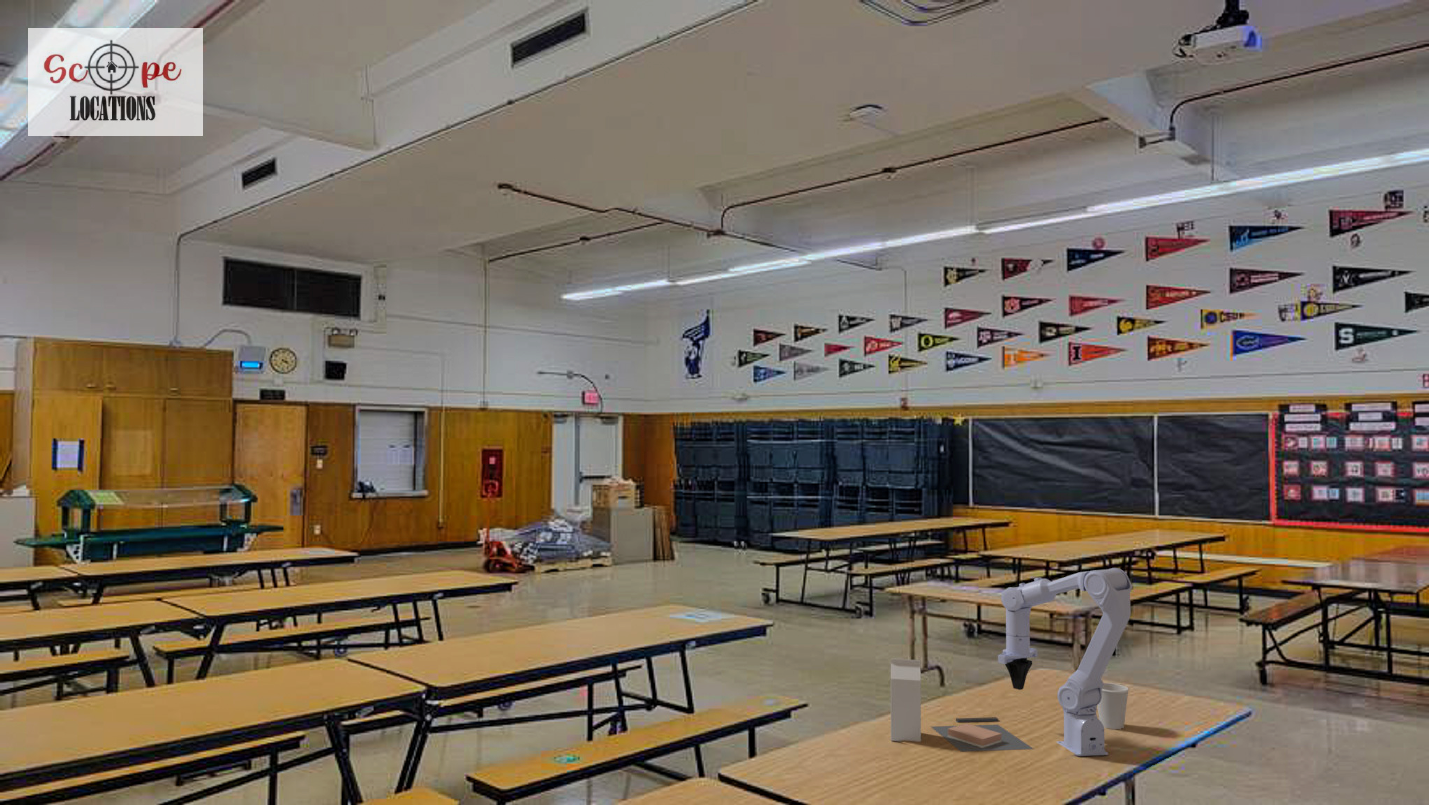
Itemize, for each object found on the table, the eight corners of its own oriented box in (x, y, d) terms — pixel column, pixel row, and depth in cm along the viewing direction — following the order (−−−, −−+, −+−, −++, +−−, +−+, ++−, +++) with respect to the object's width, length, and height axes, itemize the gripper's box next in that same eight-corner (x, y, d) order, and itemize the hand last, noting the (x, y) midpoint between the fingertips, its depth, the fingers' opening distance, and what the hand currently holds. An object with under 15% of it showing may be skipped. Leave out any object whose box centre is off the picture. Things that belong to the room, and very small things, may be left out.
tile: (966, 723, 225) (947, 728, 220) (1001, 733, 217) (982, 739, 213) (966, 731, 225) (947, 737, 220) (1001, 742, 217) (982, 748, 212)
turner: (991, 718, 238) (991, 714, 238) (1003, 726, 231) (1003, 722, 231) (922, 720, 236) (922, 716, 236) (932, 728, 229) (932, 724, 229)
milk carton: (920, 743, 217) (920, 663, 218) (890, 741, 218) (890, 662, 219) (920, 734, 224) (920, 657, 225) (890, 732, 225) (891, 655, 226)
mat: (1033, 751, 212) (1033, 749, 212) (961, 753, 210) (961, 751, 210) (997, 726, 231) (997, 724, 231) (930, 728, 229) (930, 726, 229)
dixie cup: (1122, 722, 236) (1122, 683, 237) (1134, 731, 228) (1134, 691, 229) (1089, 720, 237) (1089, 682, 238) (1100, 730, 229) (1099, 690, 229)
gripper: (1020, 628, 237) (1020, 681, 236) (987, 635, 228) (987, 689, 227) (1044, 633, 231) (1045, 687, 231) (1011, 640, 222) (1012, 696, 222)
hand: (1018, 688), depth 229 cm, fingers closed
